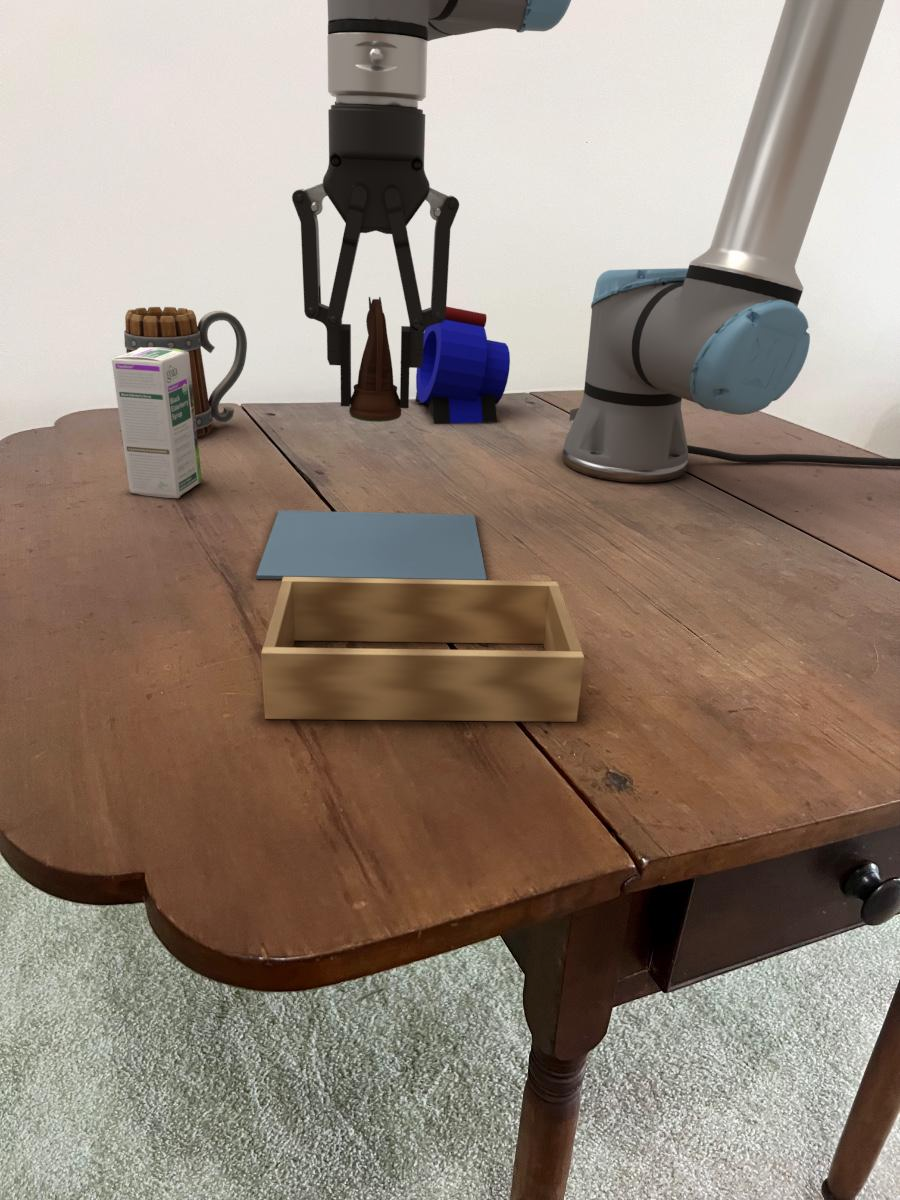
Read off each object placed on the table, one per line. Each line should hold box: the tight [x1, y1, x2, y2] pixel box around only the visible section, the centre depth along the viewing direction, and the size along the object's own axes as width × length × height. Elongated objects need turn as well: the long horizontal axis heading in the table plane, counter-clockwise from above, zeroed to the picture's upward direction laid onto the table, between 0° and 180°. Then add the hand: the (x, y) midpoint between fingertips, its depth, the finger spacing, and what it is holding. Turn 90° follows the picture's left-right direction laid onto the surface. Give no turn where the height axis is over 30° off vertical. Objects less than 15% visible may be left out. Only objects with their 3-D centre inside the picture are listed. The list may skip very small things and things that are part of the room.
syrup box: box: [111, 347, 203, 499], centre depth 96 cm, size 6×6×14 cm
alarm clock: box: [415, 305, 511, 425], centre depth 131 cm, size 12×12×15 cm
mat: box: [255, 509, 488, 581], centre depth 87 cm, size 20×16×1 cm
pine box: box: [260, 577, 585, 723], centre depth 65 cm, size 21×12×5 cm, turn 93°
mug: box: [123, 306, 248, 439], centre depth 116 cm, size 16×11×15 cm
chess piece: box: [348, 296, 402, 423], centre depth 79 cm, size 5×5×10 cm
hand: (375, 402), depth 81 cm, fingers closed on chess piece, 4 cm apart
